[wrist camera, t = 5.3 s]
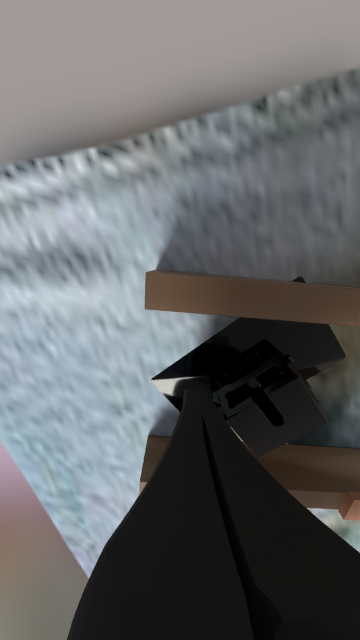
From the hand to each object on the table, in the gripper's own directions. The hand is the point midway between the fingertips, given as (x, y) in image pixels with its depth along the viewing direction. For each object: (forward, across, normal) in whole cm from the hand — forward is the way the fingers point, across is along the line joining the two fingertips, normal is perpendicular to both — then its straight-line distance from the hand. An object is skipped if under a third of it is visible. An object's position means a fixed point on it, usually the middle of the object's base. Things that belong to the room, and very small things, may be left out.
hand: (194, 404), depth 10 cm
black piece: (+3, -3, -1) cm, 5 cm away
